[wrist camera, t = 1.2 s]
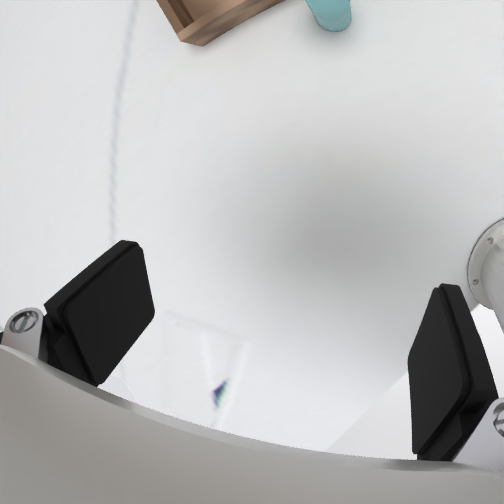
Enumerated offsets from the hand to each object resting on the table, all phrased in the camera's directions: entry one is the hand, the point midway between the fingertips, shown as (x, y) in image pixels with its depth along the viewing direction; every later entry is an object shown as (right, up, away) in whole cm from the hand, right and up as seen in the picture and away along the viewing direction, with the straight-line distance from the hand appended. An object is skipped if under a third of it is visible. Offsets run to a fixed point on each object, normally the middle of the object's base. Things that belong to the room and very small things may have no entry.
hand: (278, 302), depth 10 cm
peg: (+7, +25, +15) cm, 30 cm away
